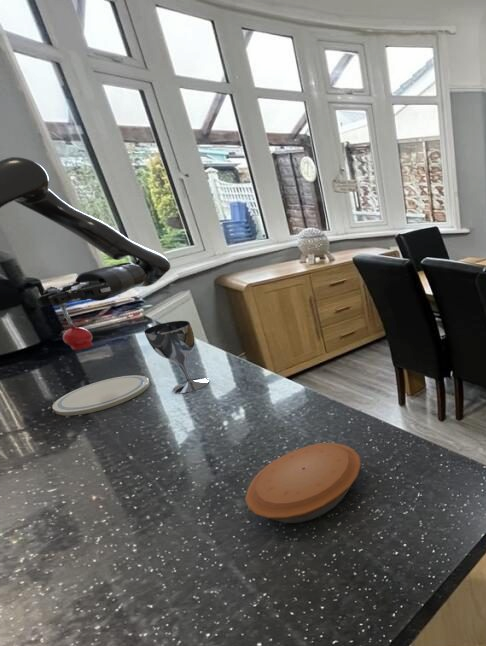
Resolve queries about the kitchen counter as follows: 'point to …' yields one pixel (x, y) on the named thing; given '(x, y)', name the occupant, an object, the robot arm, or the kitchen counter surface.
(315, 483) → the pie
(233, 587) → the kitchen counter surface
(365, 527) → the kitchen counter surface
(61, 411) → the plate
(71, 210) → the robot arm
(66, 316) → the red bulb with handle
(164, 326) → the wine glass
